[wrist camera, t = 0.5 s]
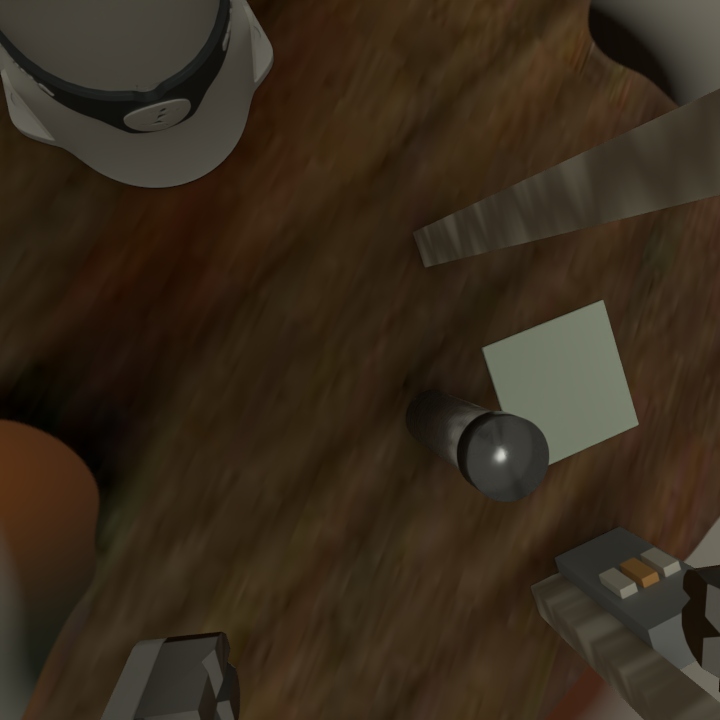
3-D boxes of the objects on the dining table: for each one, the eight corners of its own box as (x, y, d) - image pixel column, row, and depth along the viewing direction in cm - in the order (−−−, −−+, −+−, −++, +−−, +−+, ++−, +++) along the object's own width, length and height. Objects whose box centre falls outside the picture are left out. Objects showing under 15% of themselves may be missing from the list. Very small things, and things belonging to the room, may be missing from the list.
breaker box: (551, 549, 51) (644, 620, 39) (617, 518, 52) (726, 578, 40) (566, 596, 52) (662, 679, 40) (630, 564, 53) (742, 635, 41)
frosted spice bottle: (394, 400, 47) (457, 436, 33) (450, 377, 48) (535, 403, 34) (414, 457, 47) (484, 515, 34) (469, 433, 48) (559, 481, 35)
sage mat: (480, 347, 48) (482, 348, 48) (600, 300, 50) (602, 299, 50) (522, 475, 50) (523, 476, 49) (636, 424, 52) (638, 424, 51)
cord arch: (412, 232, 46) (978, -33, 11) (445, 220, 46) (1088, -69, 11) (539, 615, 51) (1194, 1273, 16) (568, 600, 52) (1264, 1209, 17)
